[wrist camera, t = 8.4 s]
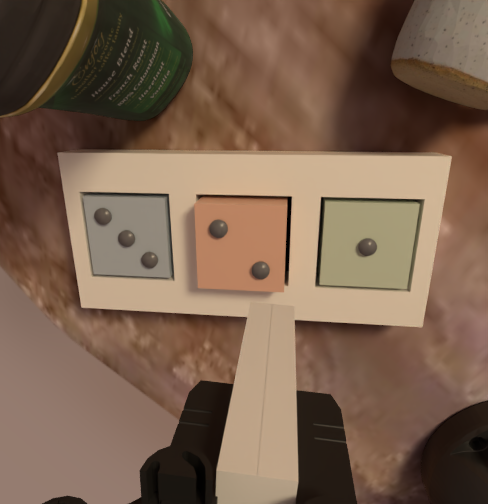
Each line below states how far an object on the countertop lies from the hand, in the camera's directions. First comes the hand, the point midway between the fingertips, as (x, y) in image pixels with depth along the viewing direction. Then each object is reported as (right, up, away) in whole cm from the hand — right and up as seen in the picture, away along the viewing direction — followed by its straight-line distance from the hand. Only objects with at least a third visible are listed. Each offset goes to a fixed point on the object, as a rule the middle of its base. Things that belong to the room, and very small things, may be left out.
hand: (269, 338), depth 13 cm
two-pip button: (-1, +4, +15) cm, 16 cm away
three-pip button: (-9, +5, +17) cm, 20 cm away
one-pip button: (+8, +4, +15) cm, 18 cm away
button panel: (-1, +5, +17) cm, 17 cm away
